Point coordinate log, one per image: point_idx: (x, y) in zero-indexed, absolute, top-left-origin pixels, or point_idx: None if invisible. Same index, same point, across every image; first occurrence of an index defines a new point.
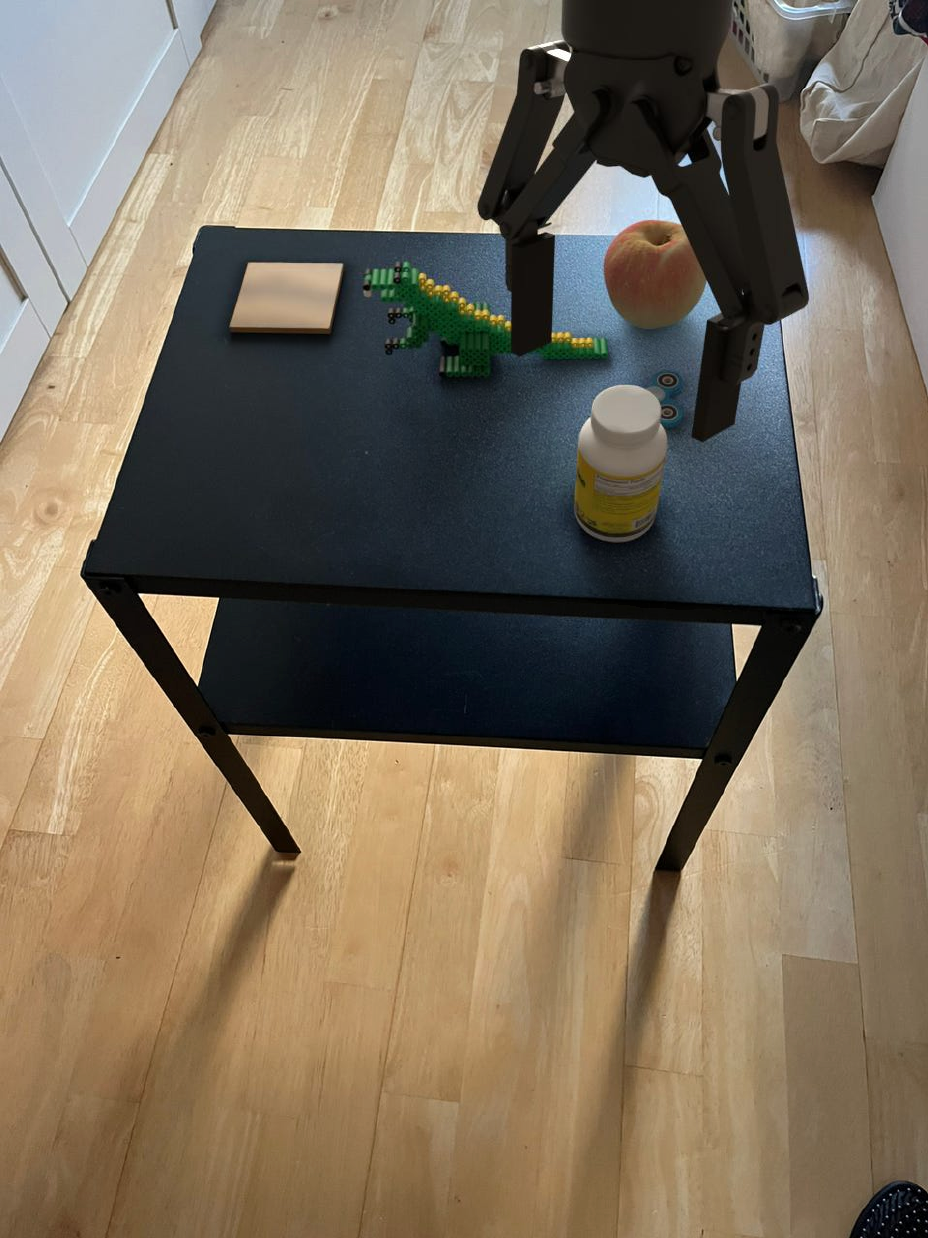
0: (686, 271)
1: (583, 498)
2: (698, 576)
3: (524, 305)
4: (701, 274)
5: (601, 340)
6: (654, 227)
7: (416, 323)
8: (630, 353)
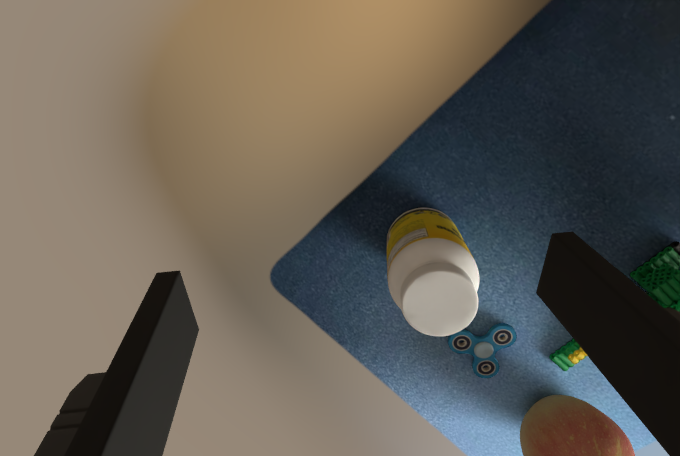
0: None
1: (435, 219)
2: (328, 240)
3: (609, 298)
4: None
5: (566, 367)
6: None
7: None
8: (535, 371)
